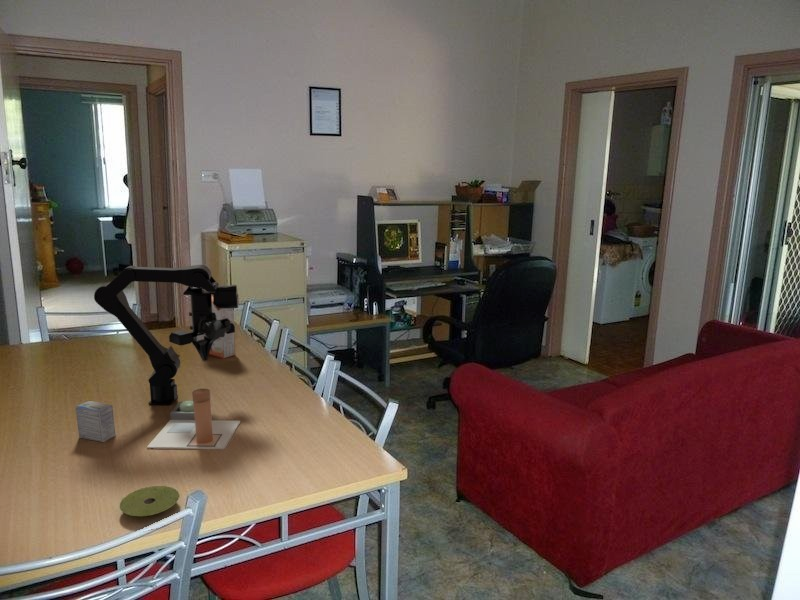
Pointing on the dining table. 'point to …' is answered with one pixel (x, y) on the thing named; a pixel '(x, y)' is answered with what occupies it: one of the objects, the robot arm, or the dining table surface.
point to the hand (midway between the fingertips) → (204, 360)
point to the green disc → (149, 501)
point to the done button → (187, 406)
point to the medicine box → (95, 421)
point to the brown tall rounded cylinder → (202, 415)
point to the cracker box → (225, 344)
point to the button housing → (181, 414)
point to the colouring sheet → (193, 435)
